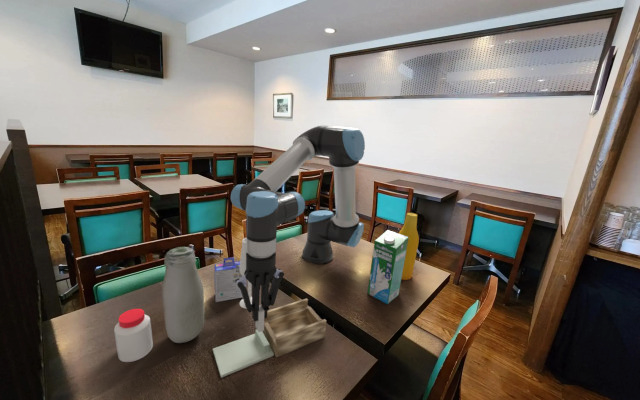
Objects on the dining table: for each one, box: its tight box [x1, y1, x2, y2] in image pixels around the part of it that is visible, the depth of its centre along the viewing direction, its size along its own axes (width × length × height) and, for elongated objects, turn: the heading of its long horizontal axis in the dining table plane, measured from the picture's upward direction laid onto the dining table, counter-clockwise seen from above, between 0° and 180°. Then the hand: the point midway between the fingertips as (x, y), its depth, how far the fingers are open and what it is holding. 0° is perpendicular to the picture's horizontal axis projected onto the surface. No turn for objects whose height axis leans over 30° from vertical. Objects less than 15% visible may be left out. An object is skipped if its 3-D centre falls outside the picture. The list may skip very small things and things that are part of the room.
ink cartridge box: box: [213, 256, 243, 303], centre depth 95 cm, size 10×6×14 cm, turn 113°
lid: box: [212, 328, 275, 378], centre depth 73 cm, size 14×9×4 cm
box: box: [262, 297, 327, 358], centre depth 81 cm, size 16×12×6 cm
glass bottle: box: [161, 246, 205, 344], centre depth 73 cm, size 10×10×28 cm
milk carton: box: [367, 229, 409, 305], centre depth 102 cm, size 9×9×25 cm
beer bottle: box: [398, 212, 420, 281], centre depth 117 cm, size 9×9×29 cm
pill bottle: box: [113, 308, 154, 363], centre depth 70 cm, size 8×8×11 cm
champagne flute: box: [239, 237, 252, 310], centre depth 91 cm, size 7×7×24 cm
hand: (259, 328), depth 74 cm, fingers closed
